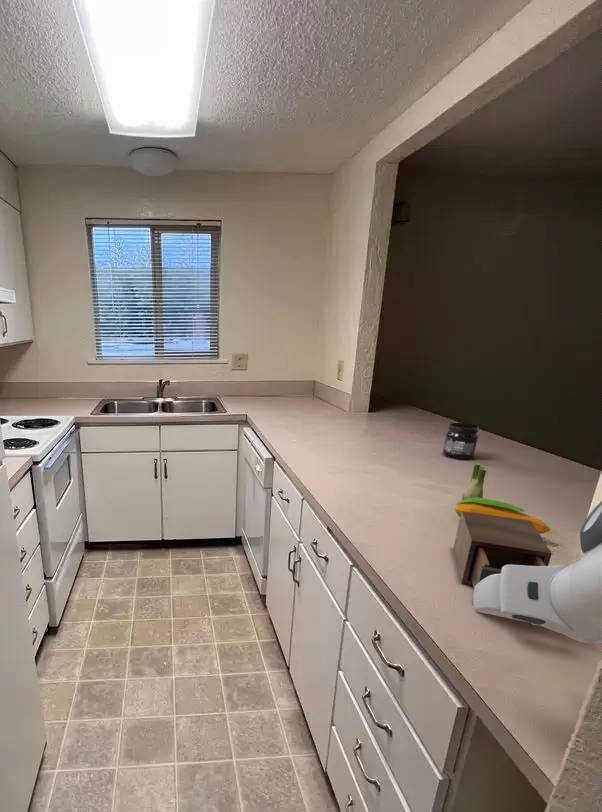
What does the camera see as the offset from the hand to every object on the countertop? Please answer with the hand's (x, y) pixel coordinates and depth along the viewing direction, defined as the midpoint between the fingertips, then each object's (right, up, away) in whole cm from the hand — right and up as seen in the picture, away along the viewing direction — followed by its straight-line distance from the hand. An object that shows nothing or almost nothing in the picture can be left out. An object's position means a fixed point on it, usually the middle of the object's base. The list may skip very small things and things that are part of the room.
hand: (542, 621), depth 64 cm
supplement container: (+50, +29, +103) cm, 118 cm away
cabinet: (+12, +1, +28) cm, 30 cm away
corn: (+25, +8, +46) cm, 53 cm away
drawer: (+7, -2, +17) cm, 19 cm away
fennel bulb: (+28, +13, +60) cm, 68 cm away
